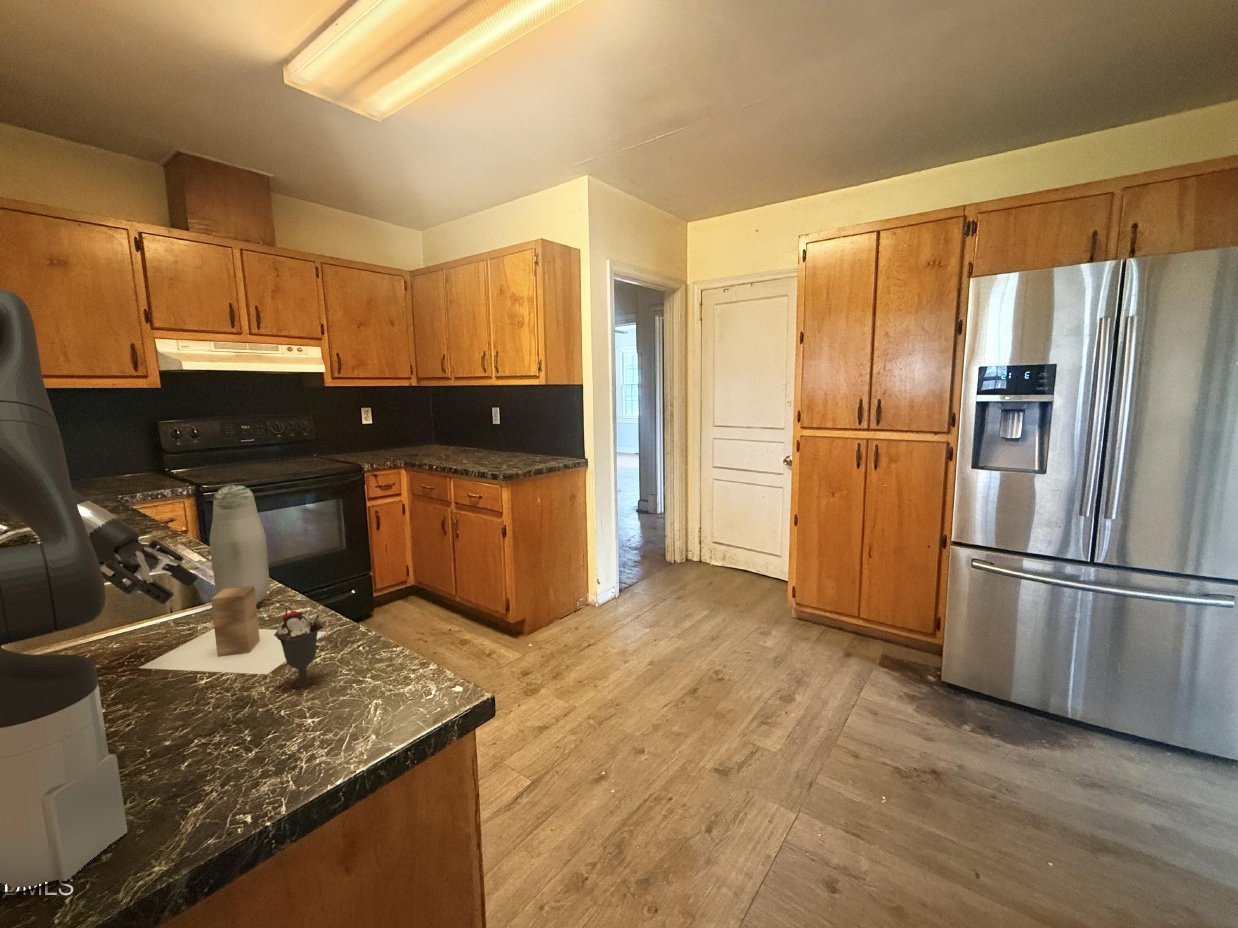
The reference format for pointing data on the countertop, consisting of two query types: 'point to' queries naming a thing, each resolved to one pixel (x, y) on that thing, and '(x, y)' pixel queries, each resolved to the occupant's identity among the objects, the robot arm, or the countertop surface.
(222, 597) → the walnut block
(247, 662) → the cream sheet of paper
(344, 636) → the countertop surface
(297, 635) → the sundae
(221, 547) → the glass bottle
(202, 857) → the countertop surface
